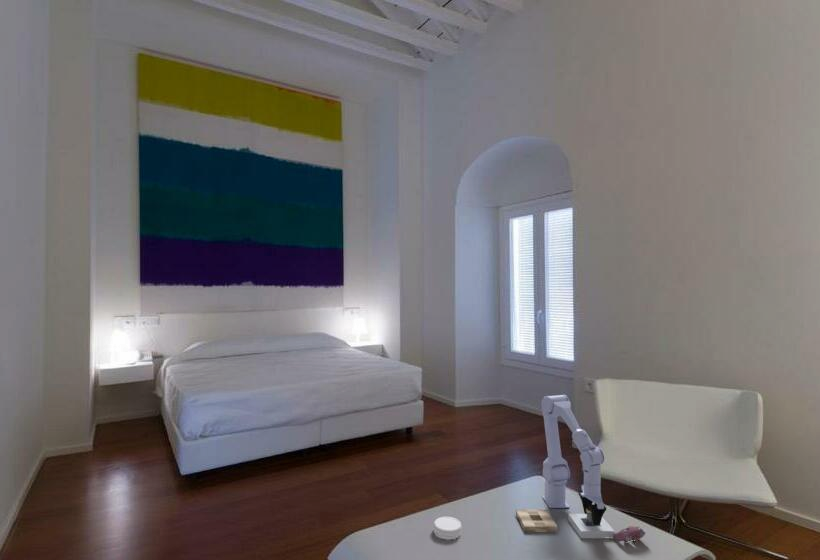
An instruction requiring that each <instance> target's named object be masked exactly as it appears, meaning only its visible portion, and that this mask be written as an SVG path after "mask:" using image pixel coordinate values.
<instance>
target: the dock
mask: <svg viewBox="0 0 820 560" xmlns="http://www.w3.org/2000/svg"><path fill="white" fill-rule="evenodd" d="M567 515H568V516H567V517H568V519H567V521H568V522H569V523H570V524H571V526H572V528H573V529H574V530H575V532H576V534H579V535H578V536H579V537H580V539H606V538H605V537H613V535H614V534H615V533H616V531H615V530H614V529H613V527H612V526H611V525H610V524H609V523H608V522H607V520H605V518H604V517H603V516H602V519H601V523H600V525H596V526H587V514H585V513H568V514H567Z"/></svg>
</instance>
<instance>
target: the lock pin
mask: <svg viewBox="0 0 820 560" xmlns="http://www.w3.org/2000/svg"><path fill="white" fill-rule="evenodd" d="M586 512H587V525H586V526H596V525H594V524H593V519H592V512H591V509H590V507H588V508H586Z"/></svg>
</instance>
